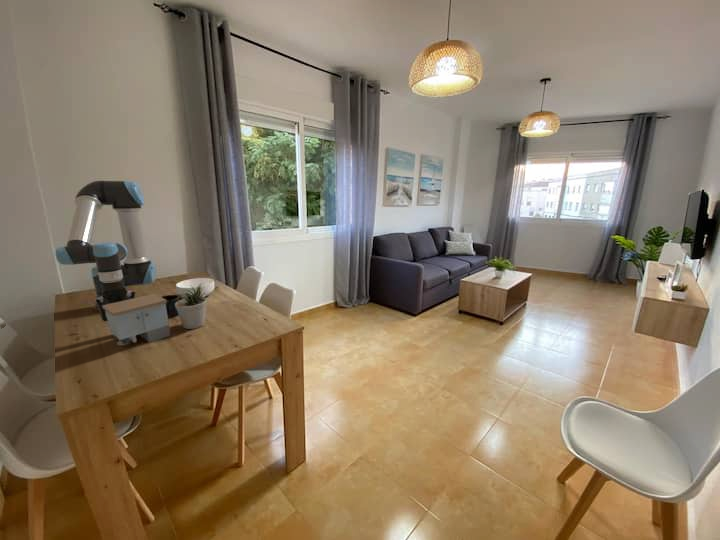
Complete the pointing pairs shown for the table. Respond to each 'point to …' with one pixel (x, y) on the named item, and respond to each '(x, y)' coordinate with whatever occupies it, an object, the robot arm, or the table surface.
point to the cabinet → (139, 318)
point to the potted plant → (192, 309)
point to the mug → (171, 305)
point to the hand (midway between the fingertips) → (122, 331)
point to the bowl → (204, 282)
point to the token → (124, 342)
